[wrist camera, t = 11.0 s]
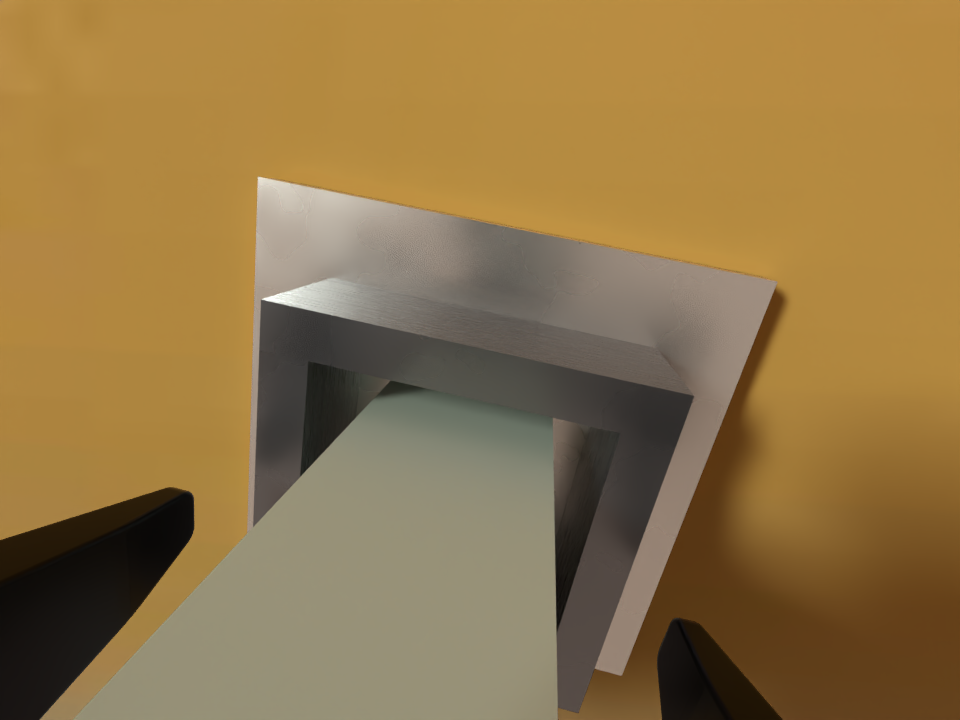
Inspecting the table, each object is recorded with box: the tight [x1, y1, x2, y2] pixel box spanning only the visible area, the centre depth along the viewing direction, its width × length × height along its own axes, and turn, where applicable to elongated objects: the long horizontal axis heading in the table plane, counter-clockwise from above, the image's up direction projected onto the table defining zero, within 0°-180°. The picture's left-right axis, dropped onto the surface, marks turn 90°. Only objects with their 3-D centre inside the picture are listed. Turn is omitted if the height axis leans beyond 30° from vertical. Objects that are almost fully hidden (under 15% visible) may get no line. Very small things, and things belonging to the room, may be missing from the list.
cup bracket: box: [247, 177, 777, 713], centre depth 11 cm, size 12×12×4 cm
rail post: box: [73, 380, 558, 720], centre depth 8 cm, size 4×4×9 cm
